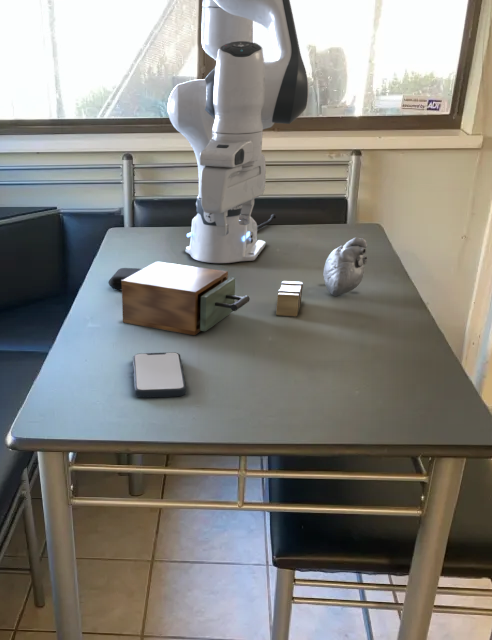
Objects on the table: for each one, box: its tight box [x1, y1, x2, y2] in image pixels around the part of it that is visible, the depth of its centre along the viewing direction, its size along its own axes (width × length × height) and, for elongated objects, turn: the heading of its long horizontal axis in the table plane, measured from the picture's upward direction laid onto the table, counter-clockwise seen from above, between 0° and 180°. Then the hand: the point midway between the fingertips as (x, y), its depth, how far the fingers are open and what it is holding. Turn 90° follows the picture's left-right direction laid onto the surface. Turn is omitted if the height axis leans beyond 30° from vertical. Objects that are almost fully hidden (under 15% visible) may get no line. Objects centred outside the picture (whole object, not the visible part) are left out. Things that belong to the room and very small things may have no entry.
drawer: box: [197, 276, 251, 332], centre depth 164 cm, size 20×13×7 cm, turn 59°
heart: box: [323, 237, 368, 297], centre depth 176 cm, size 10×10×12 cm
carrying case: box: [108, 267, 143, 291], centre depth 185 cm, size 11×3×15 cm
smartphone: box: [132, 351, 187, 399], centre depth 143 cm, size 9×2×16 cm
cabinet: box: [121, 260, 229, 336], centre depth 167 cm, size 17×15×9 cm
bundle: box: [275, 280, 304, 317], centre depth 170 cm, size 9×4×5 cm, turn 164°
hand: (233, 229), depth 153 cm, fingers open, 8 cm apart
